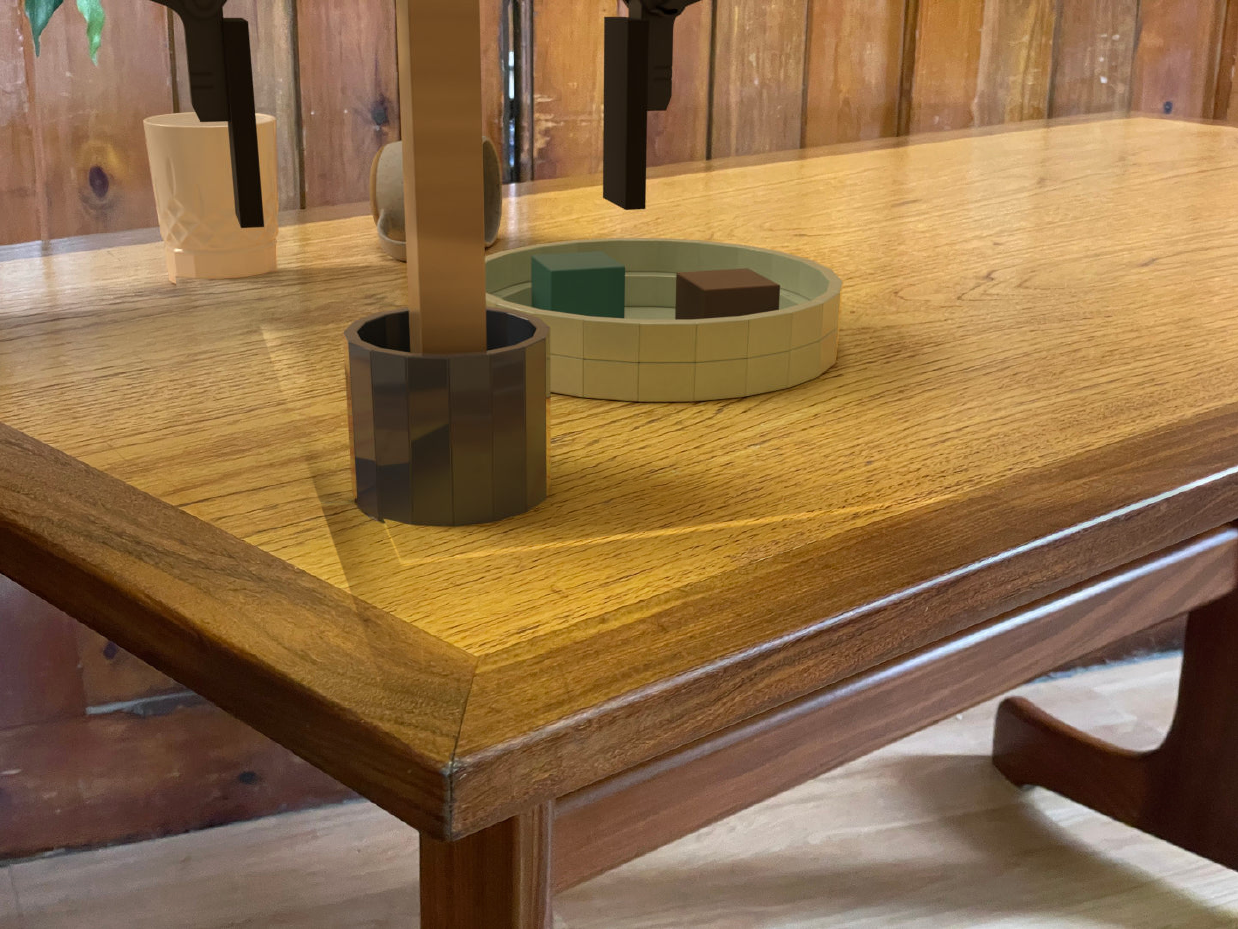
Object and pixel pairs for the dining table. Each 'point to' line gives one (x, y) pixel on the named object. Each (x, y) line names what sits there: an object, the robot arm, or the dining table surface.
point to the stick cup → (448, 422)
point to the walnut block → (724, 294)
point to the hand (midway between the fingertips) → (444, 212)
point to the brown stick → (443, 173)
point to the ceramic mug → (390, 197)
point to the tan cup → (209, 198)
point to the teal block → (578, 284)
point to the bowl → (680, 323)
